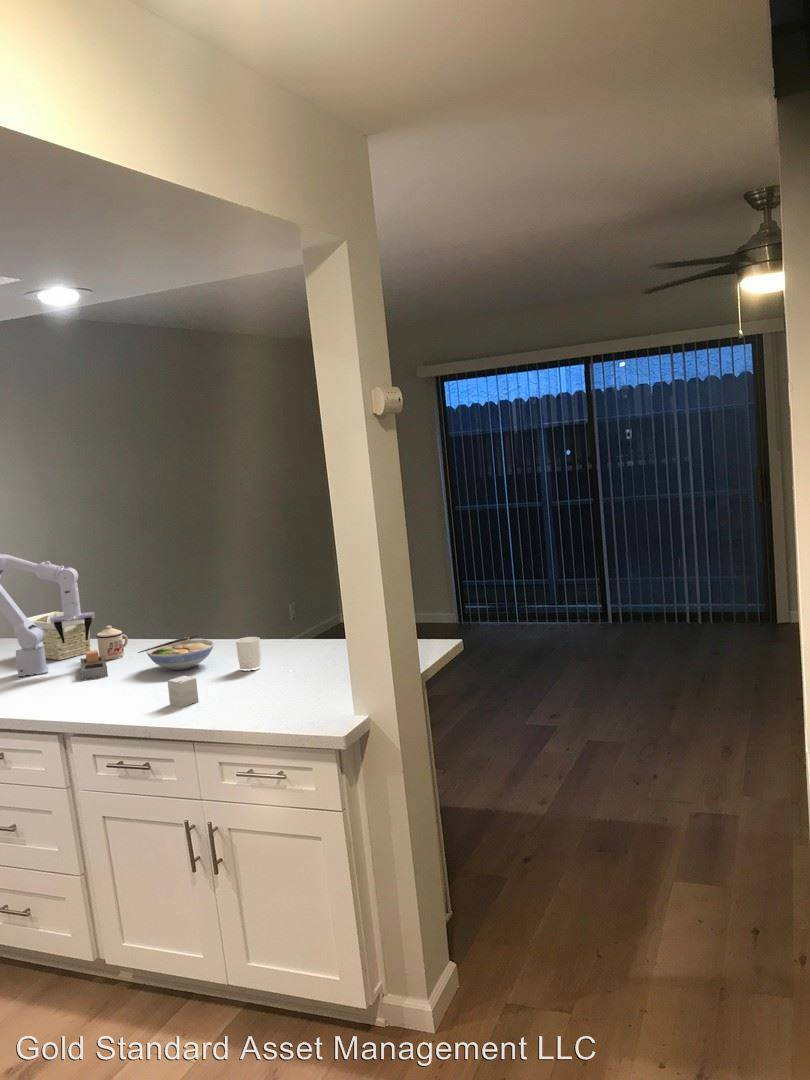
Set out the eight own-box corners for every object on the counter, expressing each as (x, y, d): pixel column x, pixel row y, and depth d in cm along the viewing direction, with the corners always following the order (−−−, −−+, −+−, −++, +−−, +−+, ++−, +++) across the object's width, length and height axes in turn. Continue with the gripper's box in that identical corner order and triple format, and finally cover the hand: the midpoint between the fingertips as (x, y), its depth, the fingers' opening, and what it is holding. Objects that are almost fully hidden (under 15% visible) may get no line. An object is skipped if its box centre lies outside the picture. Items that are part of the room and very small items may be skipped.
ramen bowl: (174, 680, 291) (171, 655, 290) (130, 673, 305) (128, 649, 304) (232, 661, 311) (230, 638, 310) (189, 655, 325) (187, 633, 324)
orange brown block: (87, 670, 313) (85, 653, 313) (87, 668, 317) (85, 651, 316) (99, 669, 315) (97, 652, 314) (99, 666, 318) (97, 649, 318)
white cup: (265, 665, 303) (262, 636, 301) (259, 671, 295) (256, 641, 294) (242, 666, 303) (239, 637, 302) (235, 672, 296) (232, 642, 294)
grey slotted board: (107, 676, 303) (106, 667, 303) (82, 680, 301) (81, 671, 300) (105, 663, 322) (104, 655, 322) (81, 667, 319) (80, 658, 319)
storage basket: (21, 657, 344) (16, 619, 342) (59, 647, 357) (55, 610, 355) (57, 662, 330) (53, 623, 328) (96, 652, 343) (91, 614, 341)
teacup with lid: (109, 661, 325) (105, 629, 324) (93, 659, 331) (90, 627, 329) (136, 653, 335) (133, 622, 334) (121, 651, 340) (117, 621, 339)
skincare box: (186, 699, 269) (183, 675, 268) (199, 702, 265) (196, 677, 264) (169, 704, 264) (166, 680, 263) (182, 707, 260) (179, 682, 259)
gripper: (48, 607, 308) (53, 646, 310) (93, 601, 313) (97, 640, 315) (48, 604, 315) (53, 642, 316) (92, 598, 320) (96, 636, 321)
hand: (75, 641), depth 316 cm, fingers open, 7 cm apart
